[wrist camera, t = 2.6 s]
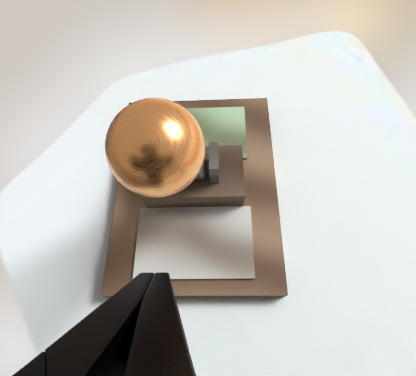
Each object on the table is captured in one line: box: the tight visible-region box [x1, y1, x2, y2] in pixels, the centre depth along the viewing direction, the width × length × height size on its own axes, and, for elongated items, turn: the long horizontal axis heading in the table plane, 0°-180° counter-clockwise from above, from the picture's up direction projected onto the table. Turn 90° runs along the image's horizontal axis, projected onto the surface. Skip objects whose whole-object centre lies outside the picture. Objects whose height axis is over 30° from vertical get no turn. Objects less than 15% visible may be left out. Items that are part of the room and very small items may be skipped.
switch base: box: [101, 98, 288, 297], centre depth 21 cm, size 16×12×5 cm
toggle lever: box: [105, 98, 206, 198], centre depth 14 cm, size 3×3×12 cm
